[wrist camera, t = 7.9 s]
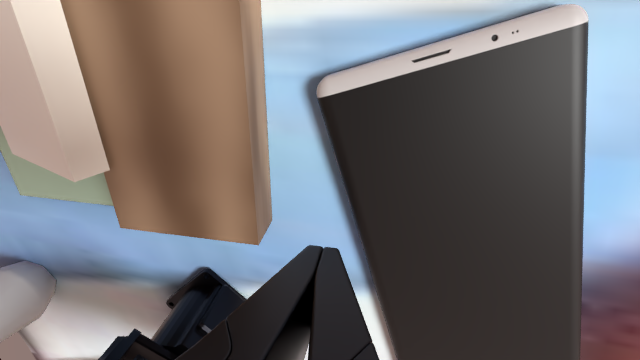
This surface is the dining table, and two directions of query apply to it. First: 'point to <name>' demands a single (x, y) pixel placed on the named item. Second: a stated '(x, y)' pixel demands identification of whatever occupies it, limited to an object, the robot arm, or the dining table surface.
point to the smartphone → (471, 186)
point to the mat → (53, 181)
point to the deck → (179, 112)
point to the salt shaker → (23, 295)
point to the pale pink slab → (46, 92)
